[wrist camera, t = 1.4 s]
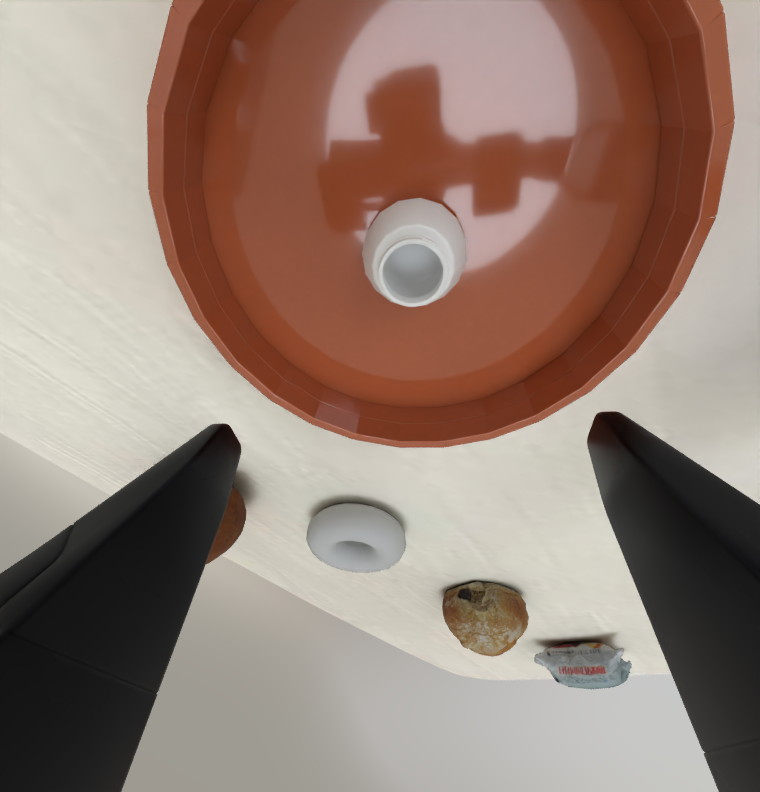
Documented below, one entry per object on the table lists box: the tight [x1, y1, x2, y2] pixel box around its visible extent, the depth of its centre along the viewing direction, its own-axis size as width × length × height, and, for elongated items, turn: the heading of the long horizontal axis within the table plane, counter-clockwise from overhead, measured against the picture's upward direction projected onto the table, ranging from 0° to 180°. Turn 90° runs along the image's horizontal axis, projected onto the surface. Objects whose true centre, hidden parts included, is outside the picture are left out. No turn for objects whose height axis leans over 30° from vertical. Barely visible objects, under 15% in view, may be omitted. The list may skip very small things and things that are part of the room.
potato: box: [206, 487, 246, 564], centre depth 31 cm, size 8×11×8 cm
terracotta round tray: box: [147, 0, 735, 448], centre depth 16 cm, size 22×22×4 cm
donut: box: [307, 503, 406, 573], centre depth 35 cm, size 10×3×10 cm
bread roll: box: [442, 581, 528, 656], centre depth 43 cm, size 10×10×8 cm
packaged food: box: [534, 643, 632, 689], centre depth 51 cm, size 9×12×5 cm
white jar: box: [362, 198, 466, 307], centre depth 16 cm, size 5×3×5 cm
